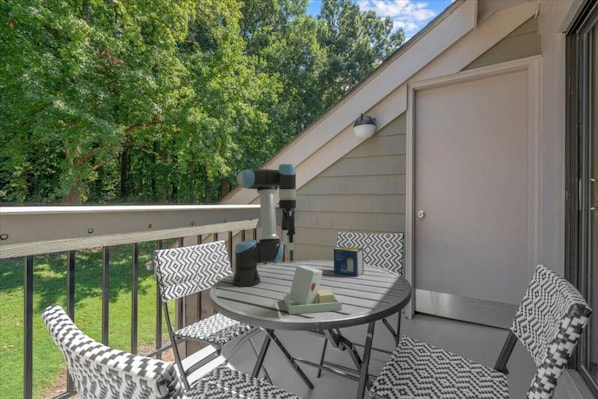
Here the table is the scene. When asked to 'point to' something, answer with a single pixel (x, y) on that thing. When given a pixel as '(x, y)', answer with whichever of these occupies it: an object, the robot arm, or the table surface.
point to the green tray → (311, 306)
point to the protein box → (348, 261)
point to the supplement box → (305, 285)
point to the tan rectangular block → (325, 296)
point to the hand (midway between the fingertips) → (287, 247)
